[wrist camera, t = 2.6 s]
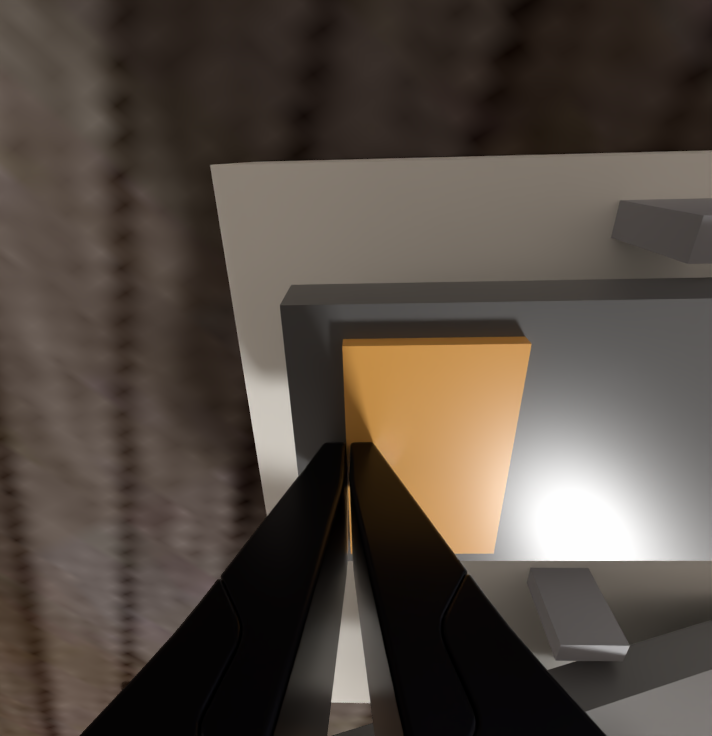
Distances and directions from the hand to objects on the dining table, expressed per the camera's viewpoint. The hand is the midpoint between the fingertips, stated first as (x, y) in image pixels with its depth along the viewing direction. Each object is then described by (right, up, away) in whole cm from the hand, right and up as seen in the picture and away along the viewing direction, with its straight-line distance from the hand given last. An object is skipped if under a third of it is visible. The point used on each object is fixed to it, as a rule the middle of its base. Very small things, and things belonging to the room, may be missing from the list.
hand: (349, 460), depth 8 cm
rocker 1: (+7, 0, 0) cm, 7 cm away
